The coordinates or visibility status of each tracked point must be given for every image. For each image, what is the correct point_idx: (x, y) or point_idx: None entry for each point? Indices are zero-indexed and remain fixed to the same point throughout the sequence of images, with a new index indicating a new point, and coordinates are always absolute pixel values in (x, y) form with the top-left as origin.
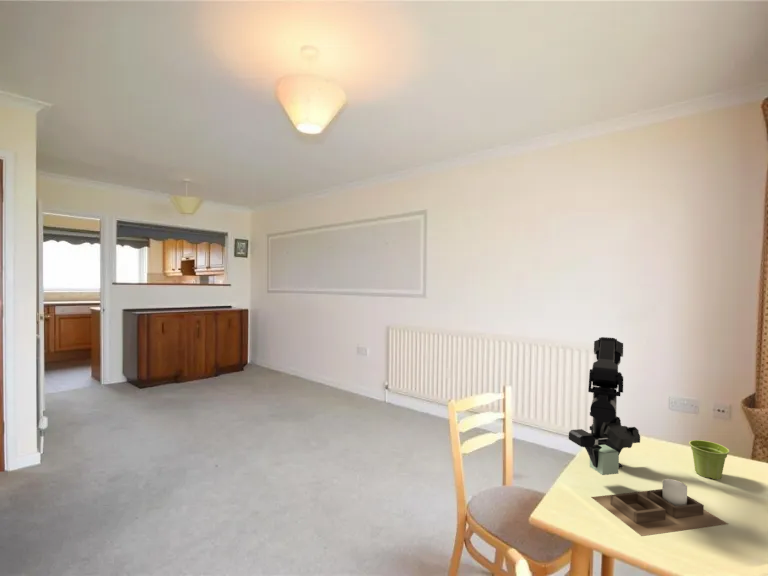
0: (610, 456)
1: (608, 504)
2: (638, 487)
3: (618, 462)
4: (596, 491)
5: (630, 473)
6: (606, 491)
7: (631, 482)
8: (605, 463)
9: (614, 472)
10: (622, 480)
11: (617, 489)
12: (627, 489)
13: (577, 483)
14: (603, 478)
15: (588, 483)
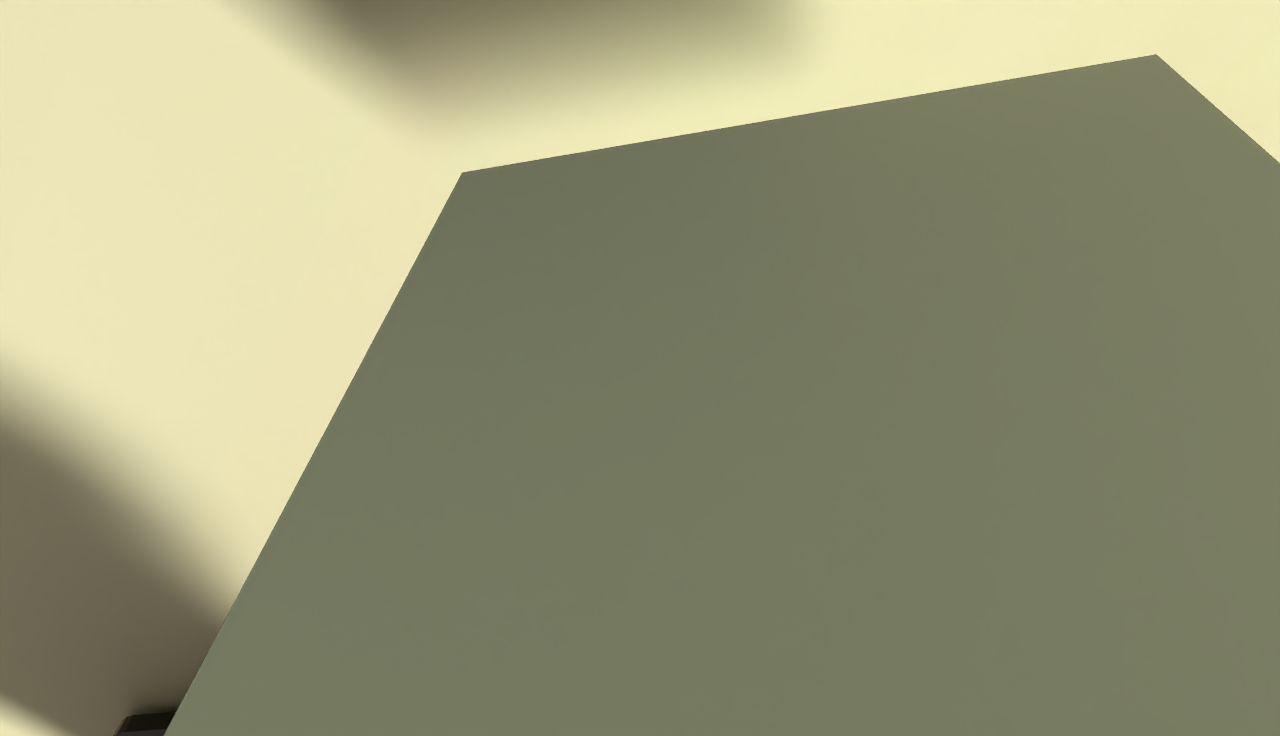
0: (888, 695)
1: None
2: (51, 184)
3: (334, 423)
4: (1044, 28)
5: (60, 577)
6: (806, 29)
7: (129, 347)
8: (1202, 317)
9: (615, 170)
10: (266, 408)
11: (511, 112)
12: (298, 111)
13: None
14: None
15: None
